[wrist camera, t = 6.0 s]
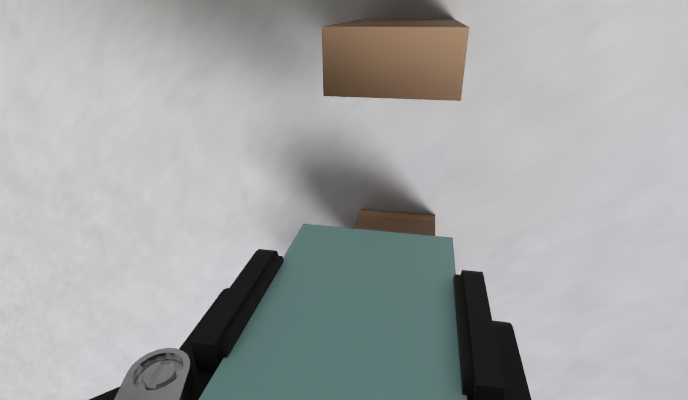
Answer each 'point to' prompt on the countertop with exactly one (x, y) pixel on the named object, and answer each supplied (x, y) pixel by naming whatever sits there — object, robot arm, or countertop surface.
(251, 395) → the domino
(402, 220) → the domino
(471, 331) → the robot arm
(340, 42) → the domino
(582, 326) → the countertop surface
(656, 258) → the countertop surface
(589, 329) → the countertop surface
